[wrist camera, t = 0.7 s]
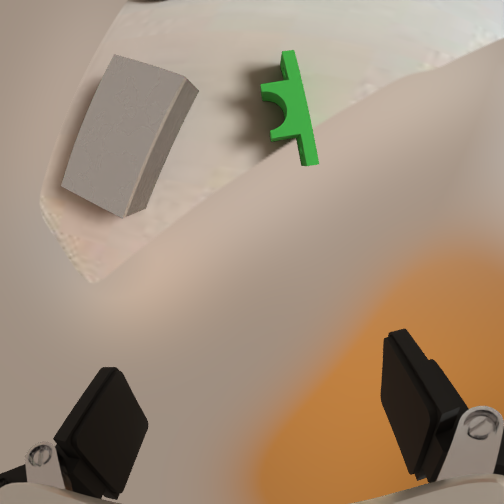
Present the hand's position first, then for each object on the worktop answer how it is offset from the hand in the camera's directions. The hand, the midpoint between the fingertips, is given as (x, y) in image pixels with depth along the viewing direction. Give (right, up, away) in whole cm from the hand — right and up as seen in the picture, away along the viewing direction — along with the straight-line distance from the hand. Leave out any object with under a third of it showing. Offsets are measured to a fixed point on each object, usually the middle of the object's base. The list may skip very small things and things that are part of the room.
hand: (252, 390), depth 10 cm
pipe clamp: (+3, +19, +20) cm, 28 cm away
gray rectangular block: (-12, +17, +20) cm, 29 cm away
